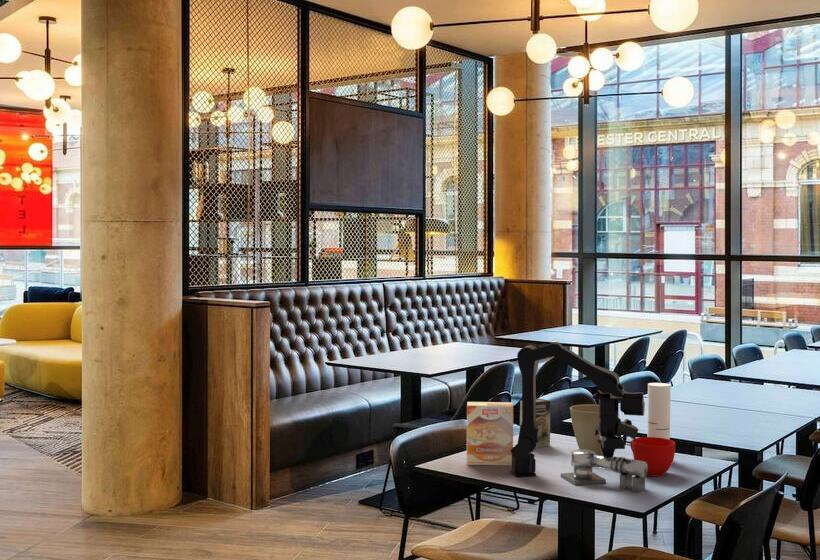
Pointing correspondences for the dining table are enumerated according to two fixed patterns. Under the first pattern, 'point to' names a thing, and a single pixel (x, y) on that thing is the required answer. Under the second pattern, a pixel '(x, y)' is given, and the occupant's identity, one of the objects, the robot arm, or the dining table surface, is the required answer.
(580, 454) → the elbow
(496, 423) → the coffeecake box
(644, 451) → the red bowl
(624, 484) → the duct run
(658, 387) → the cylindrical container
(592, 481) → the flange plate
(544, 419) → the coffee box
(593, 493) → the dining table surface
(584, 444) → the plant pot
